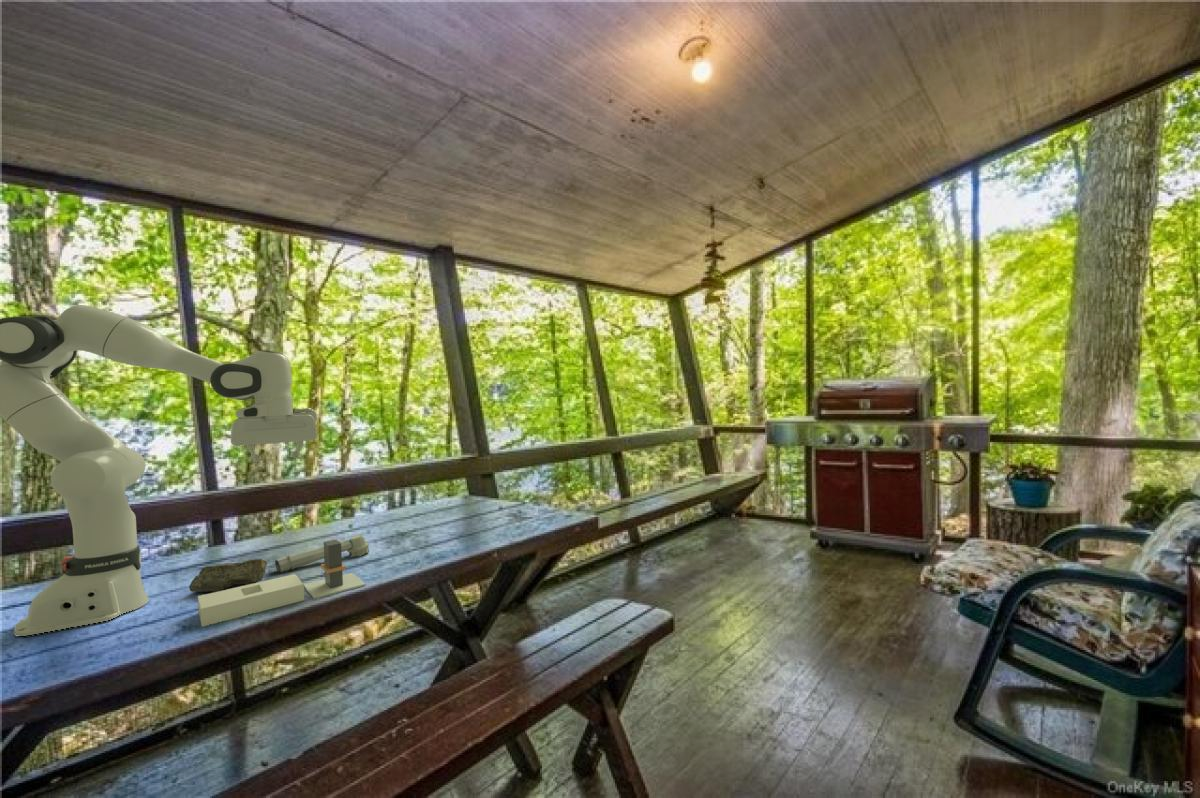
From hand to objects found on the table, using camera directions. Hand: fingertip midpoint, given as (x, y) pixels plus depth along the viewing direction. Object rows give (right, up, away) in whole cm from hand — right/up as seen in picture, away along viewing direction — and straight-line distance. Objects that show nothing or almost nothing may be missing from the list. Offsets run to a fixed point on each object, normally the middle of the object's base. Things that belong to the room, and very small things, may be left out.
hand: (276, 459), depth 143 cm
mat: (+20, -32, -7) cm, 39 cm away
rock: (-10, -34, -4) cm, 35 cm away
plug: (+20, -32, -7) cm, 38 cm away
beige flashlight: (+6, -33, +13) cm, 36 cm away
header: (+6, -33, -19) cm, 39 cm away
